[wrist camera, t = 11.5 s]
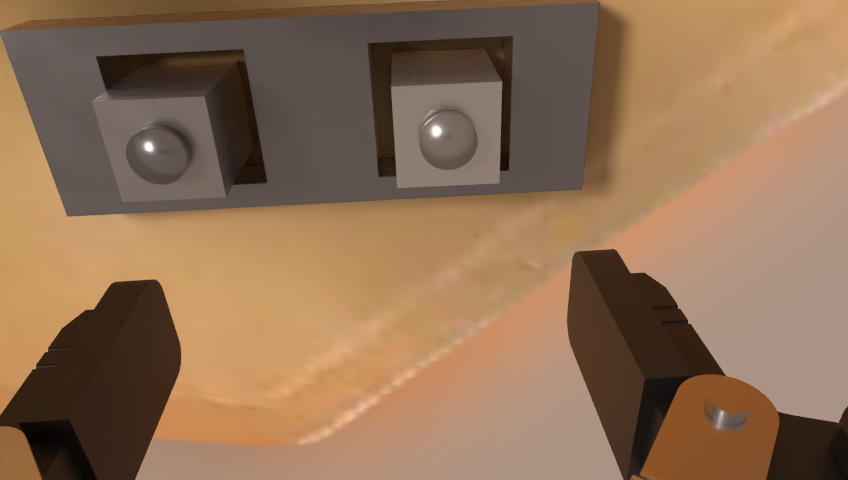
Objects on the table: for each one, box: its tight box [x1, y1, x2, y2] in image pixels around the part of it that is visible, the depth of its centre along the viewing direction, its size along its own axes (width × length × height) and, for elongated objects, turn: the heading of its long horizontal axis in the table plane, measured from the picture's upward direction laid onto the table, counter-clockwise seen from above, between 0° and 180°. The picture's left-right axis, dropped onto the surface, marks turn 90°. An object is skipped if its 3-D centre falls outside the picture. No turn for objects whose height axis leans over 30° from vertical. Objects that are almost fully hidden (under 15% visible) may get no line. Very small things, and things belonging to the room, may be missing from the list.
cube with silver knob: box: [391, 48, 502, 188], centre depth 28 cm, size 4×4×7 cm
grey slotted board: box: [0, 0, 600, 216], centre depth 30 cm, size 9×26×2 cm, turn 92°
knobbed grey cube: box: [92, 60, 253, 202], centre depth 28 cm, size 4×4×7 cm
